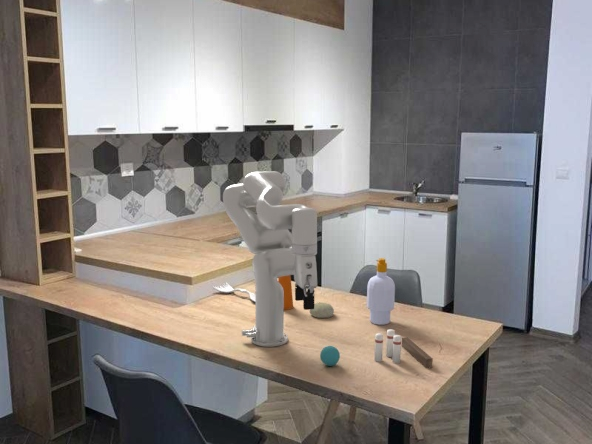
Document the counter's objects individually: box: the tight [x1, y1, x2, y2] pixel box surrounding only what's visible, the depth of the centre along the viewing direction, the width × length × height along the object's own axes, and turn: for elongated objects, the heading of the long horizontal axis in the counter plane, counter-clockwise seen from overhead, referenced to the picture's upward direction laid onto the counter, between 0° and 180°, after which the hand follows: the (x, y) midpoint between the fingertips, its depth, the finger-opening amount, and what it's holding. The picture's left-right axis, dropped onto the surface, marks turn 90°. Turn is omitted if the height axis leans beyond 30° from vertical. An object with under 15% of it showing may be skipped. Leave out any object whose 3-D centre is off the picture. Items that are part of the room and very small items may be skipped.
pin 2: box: [391, 334, 402, 365], centre depth 185 cm, size 2×2×8 cm
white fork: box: [212, 282, 256, 303], centre depth 250 cm, size 9×32×4 cm, turn 52°
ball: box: [320, 345, 341, 367], centre depth 182 cm, size 6×6×6 cm
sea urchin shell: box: [309, 302, 335, 319], centre depth 228 cm, size 9×8×8 cm
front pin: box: [374, 332, 384, 363], centre depth 186 cm, size 2×2×8 cm
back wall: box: [401, 337, 434, 369], centre depth 190 cm, size 2×18×3 cm, turn 14°
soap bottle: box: [366, 258, 396, 326], centre depth 219 cm, size 10×10×24 cm
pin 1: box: [385, 329, 396, 358], centre depth 189 cm, size 2×2×8 cm
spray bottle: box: [277, 275, 294, 311], centre depth 233 cm, size 7×11×26 cm, turn 159°
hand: (304, 304), depth 179 cm, fingers open, 9 cm apart
